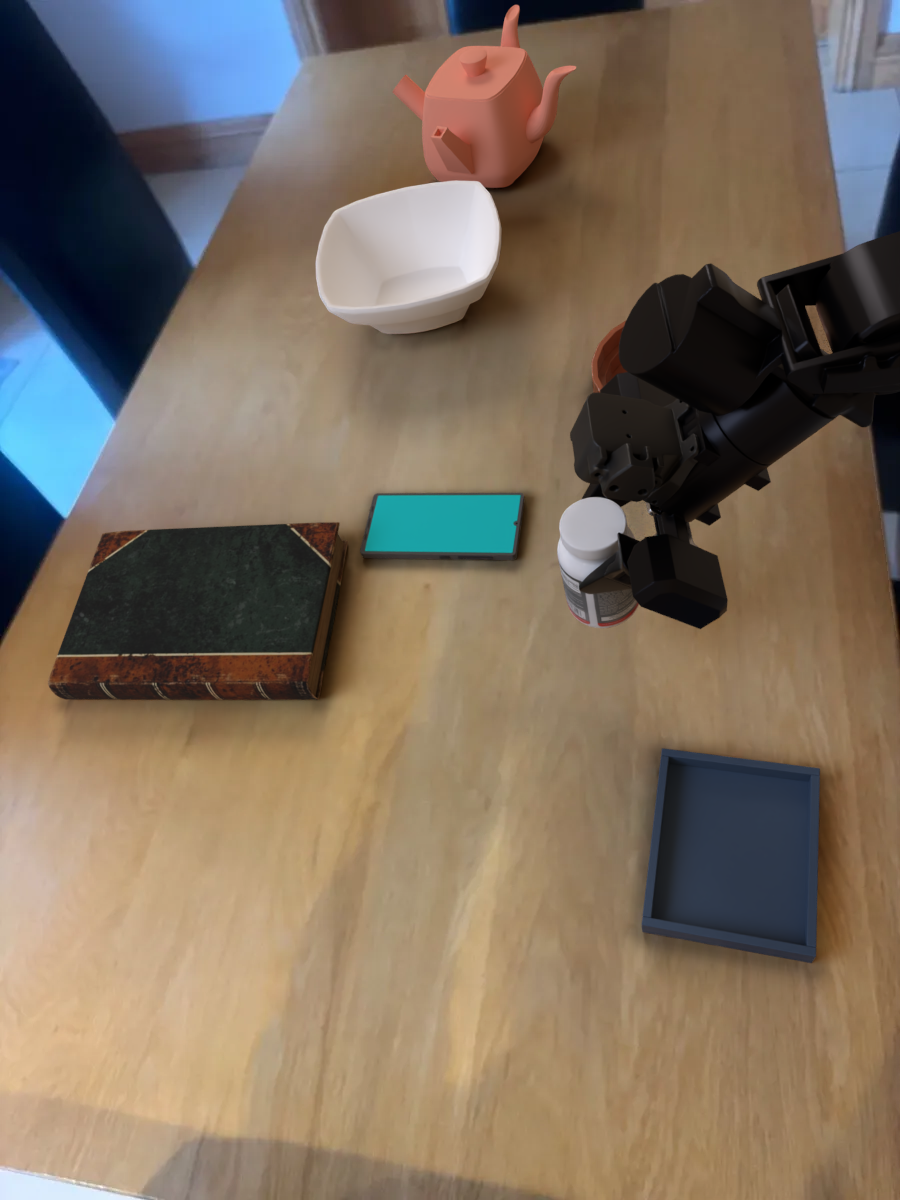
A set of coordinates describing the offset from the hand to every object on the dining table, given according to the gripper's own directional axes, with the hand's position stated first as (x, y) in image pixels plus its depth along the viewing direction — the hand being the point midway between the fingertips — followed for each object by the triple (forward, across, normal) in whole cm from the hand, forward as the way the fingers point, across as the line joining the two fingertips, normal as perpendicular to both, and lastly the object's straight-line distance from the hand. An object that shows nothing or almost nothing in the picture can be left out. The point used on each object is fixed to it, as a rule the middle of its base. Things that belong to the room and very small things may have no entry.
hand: (579, 556), depth 66 cm
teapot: (+13, -74, +6) cm, 75 cm away
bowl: (+20, -48, -1) cm, 52 cm away
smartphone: (+18, -15, 0) cm, 23 cm away
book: (+34, -8, -16) cm, 38 cm away
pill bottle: (+4, 0, +6) cm, 7 cm away
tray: (+4, +18, +15) cm, 24 cm away
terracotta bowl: (+2, -28, +17) cm, 33 cm away
